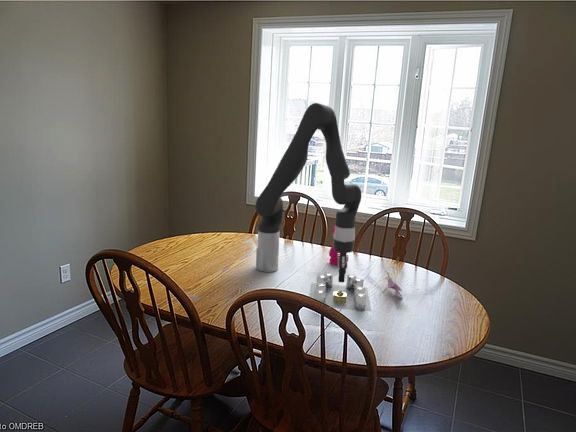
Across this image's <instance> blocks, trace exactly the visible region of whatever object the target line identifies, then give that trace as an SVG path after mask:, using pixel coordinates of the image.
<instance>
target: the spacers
mask: <svg viewBox="0 0 576 432" xmlns="http://www.w3.org/2000/svg"><path fill="white" fill-rule="evenodd" d="M316 276H317V277H316V283H317V284H316V291H315V299H317V300H319V301H321V302H323V303H325V296H326V288H332V285H334V284H333V282H334V274H333V273H332V272H325V273H323V274H319V275H316ZM345 286H346V289H348V290H353V293H354V302H355V311H358V312H363V311H364V310H365V304H366V295H365V288H366V287H365V288H364V279H363V278H360V277H357V275H355V274H347V275H346V284H345Z"/></svg>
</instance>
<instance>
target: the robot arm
mask: <svg viewBox="0 0 576 432" xmlns="http://www.w3.org/2000/svg"><path fill="white" fill-rule="evenodd" d="M337 120H338V119H337V115H336V112H335V110H334V109H333V107H330V106H329V105H325V104H322V103H319V102H313V103H311V104H310V105H309V106H308V107H307V108H306V110H305V112H304V114H303V116H302V118H301V120H300V122H299V124H298V125H299V126H298V127H297V130H296V131H295V134H294V136H293V137H292V139H291V142H290V143H289V145H288V147H287V149H286V150H285V152H284V153H283V155H282V157H281V159H280V161H279V163H278V164H277V166H276V169H275V170H274V172H273V174H272V176H271V178H270V180H269V181H268V183H267V185H266V187H265V188H264V189H263V190H262V192H261V193H260V195H259V196H258V197H257V199H256V201H255V207H254V208H255V211H256V213H257V215H258V216H260V217H262V218H261V220H260V222H259V223H258V224H257V248H256V254H255V256H256V258H255V270H256V271H260V272H265V273H272V272H276V271H277V270H279V256H280V255H279V254H280V251H279V250H280V230H281V226H282V224H283V223H282V221H283V213H284V210H283V209H284V202H283V199H282V197H281V196H282V195H283V194H284V192H285V191H286V190H287V189H288V188H289V187H290V186H291V185H292V184H293V183H294V182H295V180H296V179H297V178H298V177H299V176H300V174H301V173H302V171H303V169H304V168H305V166H306V164H307V161H308V153H309V146H310V143H311V140H312V138H313V136H314V135H315V132H316V131H317V130H319V131H320V132H321V134H322V135H323V137H324V140H325V163H326V166H327V169H328V172H329V175H330V180H331V181H330V183H331V195H332V199H333V200H334V202H335V203H336V204H337V205H342V206H343V207H341V208H340V209H339V210H337V211H336V214H335V225H336V226H335V231H334V238H333V242H334V246H333V249H334V250H335V251H337V252H340V253H338V265H337V268H338V269H337V270H338V271H337V272H338V277H337V278H338V283H344V282H345V277H346V276H345V275H346V273H347V269H348V262H349V254H348V253H352V252H353V251H354V249H355V248H354V247H355V237H356V236H355V235H356V229H355V228H356V226H355V225H356V215H357V213H358V210H359V207H360V204H361V199H362V190H361V187H360V186H359V185H358V184H355V183H350V184H349V183H348V184H345V180H346V179H348V178H349V177H350V175H351V173H350V168H349V165H348V162H347V160H346V158H345V154H344V150H343V146H342V141H341V137H340V132H339V126H338V121H337Z"/></svg>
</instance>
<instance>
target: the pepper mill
mask: <svg viewBox="0 0 576 432" xmlns="http://www.w3.org/2000/svg"><path fill="white" fill-rule="evenodd" d="M335 226H336V224H335V225H333V227H332V228H331V231H332V238H333V239H334V231H335ZM333 246H334V241H333V242H332V246H331V247H330V249H329V251H328V252H329V253H328V255H329V257H330V258H329V264H331V265H333V266H338V253H340V252H337V251H335V250H334V249H333Z"/></svg>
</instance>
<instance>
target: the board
mask: <svg viewBox="0 0 576 432" xmlns="http://www.w3.org/2000/svg"><path fill="white" fill-rule="evenodd" d="M316 284H317V282H311V284H310V289H309V290H310V291H309V296H310V297H313V298H315V291H316ZM363 287H364V286H363ZM364 288H365V295H366V304H365V310H364V311H367V312H372V305H371V301H370V295H369V290H368V287H364ZM336 291H342V292H345V293H346V302H344V303H337V302H334V301H333V293H334V292H336ZM325 304H327V305H329V306H331V307H333V309H342V310H343V309H344V310H352V311H353V310H355V302H354V293H353V290H348V289H346V285H342V284H341V285H340V284H332V288H326V296H325ZM331 307H330V308H331ZM355 311H356V310H355ZM305 325H307V326H308V325H309V324H308V323H307V324H305ZM314 326H316V327H320V325H318V324H317V325H316V324H314ZM324 327H326V328H330V326H328V325H327V326H326V325H324ZM335 328H336V329H340V327H338V326H335ZM365 331H367V332H368V331H369V332H371V330H370V329H369V330H368V329H365Z"/></svg>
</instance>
